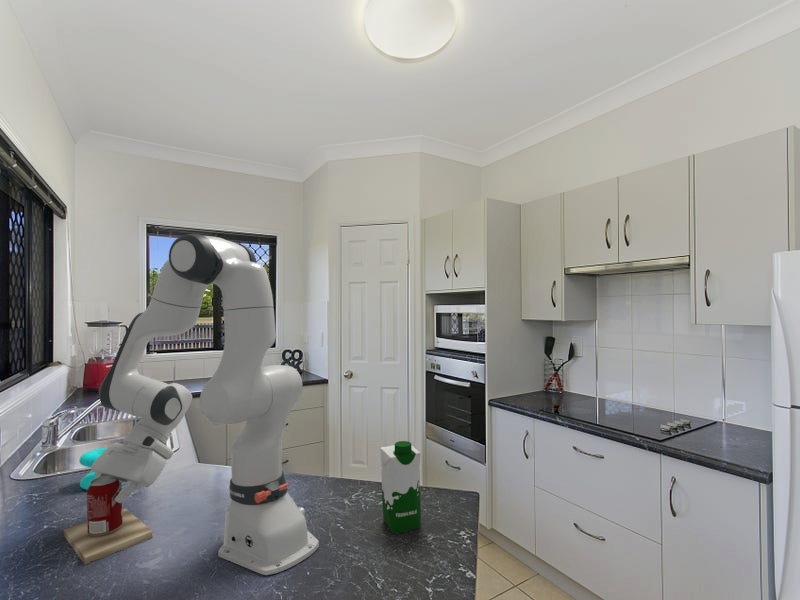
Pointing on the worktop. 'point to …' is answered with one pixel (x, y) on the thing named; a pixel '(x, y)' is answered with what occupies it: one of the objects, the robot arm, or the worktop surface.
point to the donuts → (89, 465)
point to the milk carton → (401, 487)
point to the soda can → (103, 506)
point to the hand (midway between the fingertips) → (103, 498)
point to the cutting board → (107, 538)
